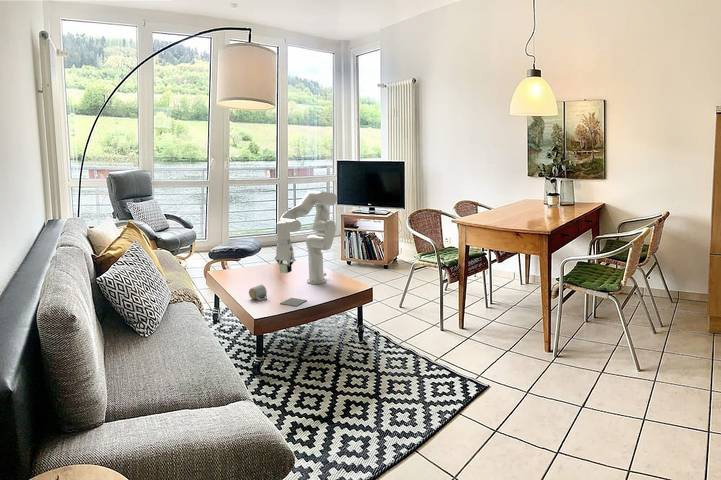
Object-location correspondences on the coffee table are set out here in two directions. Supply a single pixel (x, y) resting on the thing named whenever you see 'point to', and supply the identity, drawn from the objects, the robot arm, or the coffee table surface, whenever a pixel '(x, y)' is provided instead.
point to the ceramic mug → (258, 293)
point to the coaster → (293, 302)
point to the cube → (283, 268)
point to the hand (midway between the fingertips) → (285, 271)
